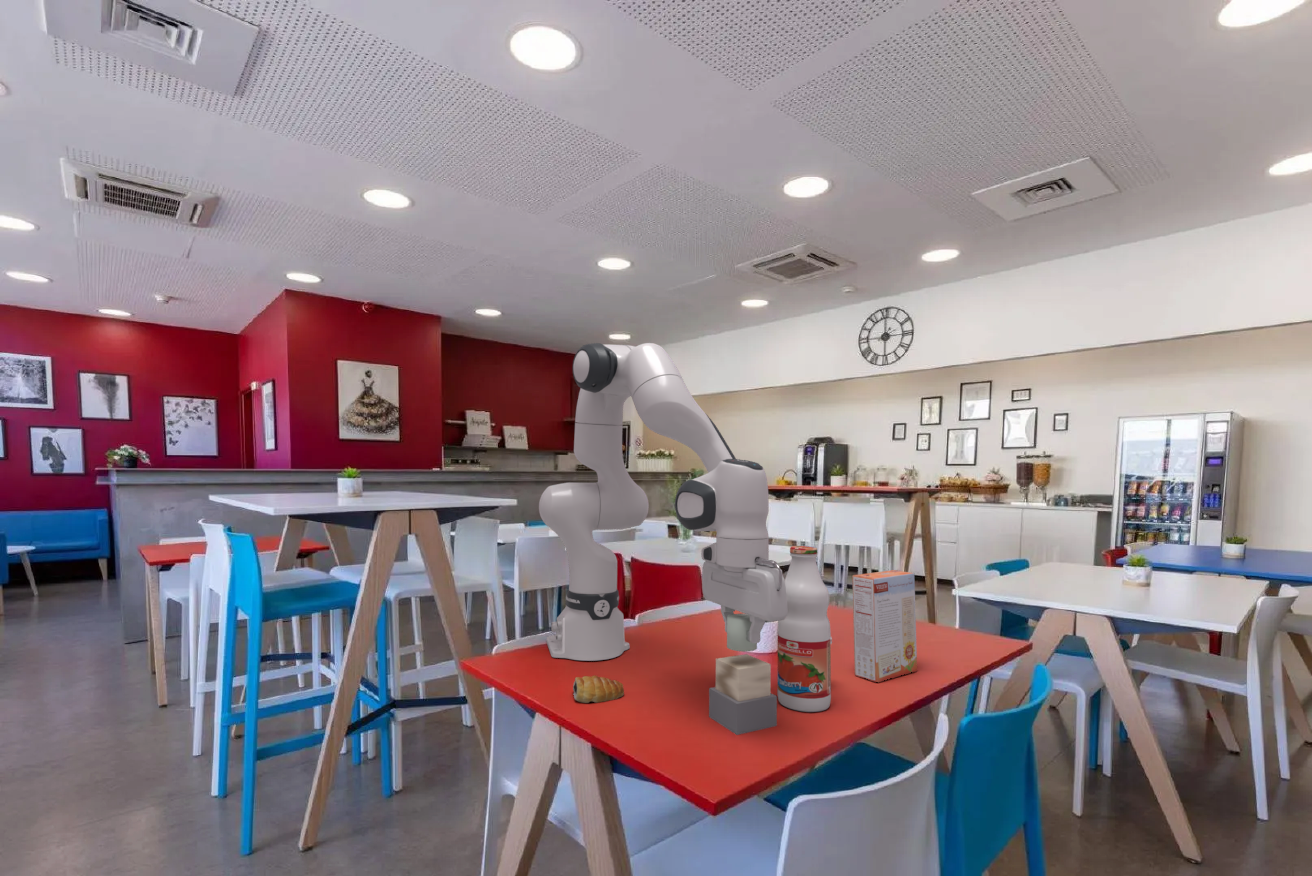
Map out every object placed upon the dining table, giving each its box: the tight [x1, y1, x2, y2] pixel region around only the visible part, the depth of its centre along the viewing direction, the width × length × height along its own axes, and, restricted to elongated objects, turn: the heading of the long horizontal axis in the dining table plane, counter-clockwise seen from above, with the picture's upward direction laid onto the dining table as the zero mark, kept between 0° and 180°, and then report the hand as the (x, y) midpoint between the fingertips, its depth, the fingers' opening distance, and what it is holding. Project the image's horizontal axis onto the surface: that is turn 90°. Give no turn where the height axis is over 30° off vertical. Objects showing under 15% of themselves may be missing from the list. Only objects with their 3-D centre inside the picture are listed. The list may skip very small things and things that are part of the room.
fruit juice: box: [776, 545, 832, 713], centre depth 109 cm, size 9×9×28 cm
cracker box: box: [851, 569, 918, 683], centre depth 126 cm, size 14×6×21 cm, turn 123°
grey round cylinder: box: [726, 613, 758, 652], centre depth 101 cm, size 5×5×5 cm
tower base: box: [708, 686, 778, 736], centre depth 100 cm, size 8×8×5 cm
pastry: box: [572, 675, 625, 704], centre depth 110 cm, size 9×7×4 cm
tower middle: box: [715, 653, 772, 701], centre depth 100 cm, size 6×6×5 cm
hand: (742, 637), depth 101 cm, fingers closed on grey round cylinder, 5 cm apart
